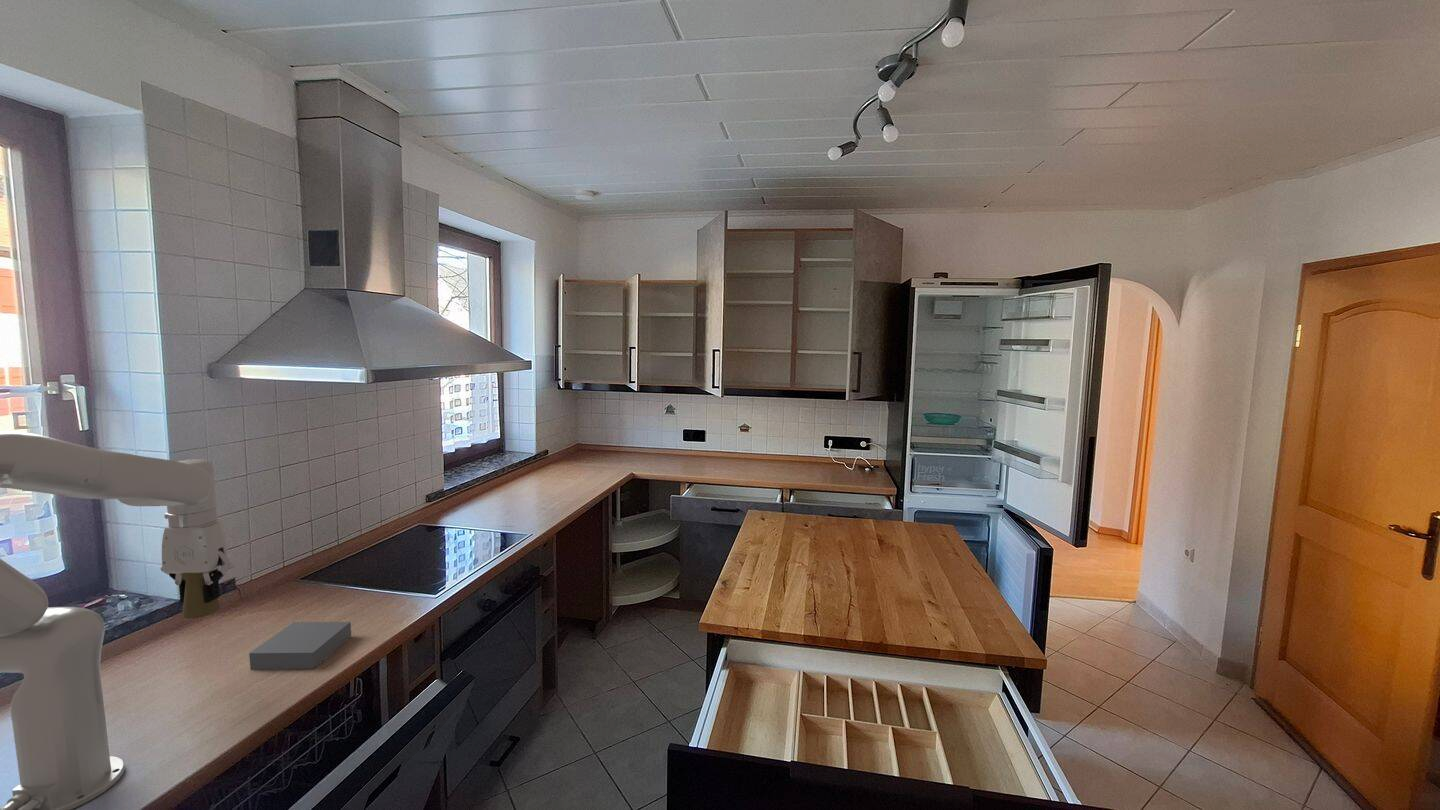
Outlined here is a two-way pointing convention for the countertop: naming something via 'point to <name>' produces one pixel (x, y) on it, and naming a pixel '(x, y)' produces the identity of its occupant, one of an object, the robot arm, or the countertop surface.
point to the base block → (300, 645)
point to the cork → (196, 597)
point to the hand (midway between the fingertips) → (200, 599)
